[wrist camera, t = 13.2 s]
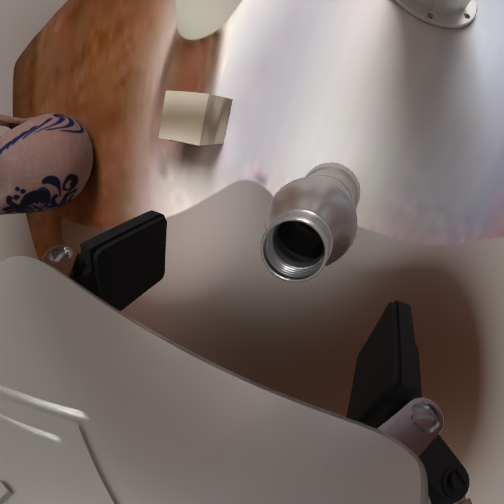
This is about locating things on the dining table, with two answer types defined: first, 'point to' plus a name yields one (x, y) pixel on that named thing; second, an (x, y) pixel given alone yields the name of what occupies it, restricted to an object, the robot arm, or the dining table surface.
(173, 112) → the beige cube
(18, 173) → the ceramic pitcher
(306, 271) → the silver metal bottle
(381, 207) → the dining table surface
